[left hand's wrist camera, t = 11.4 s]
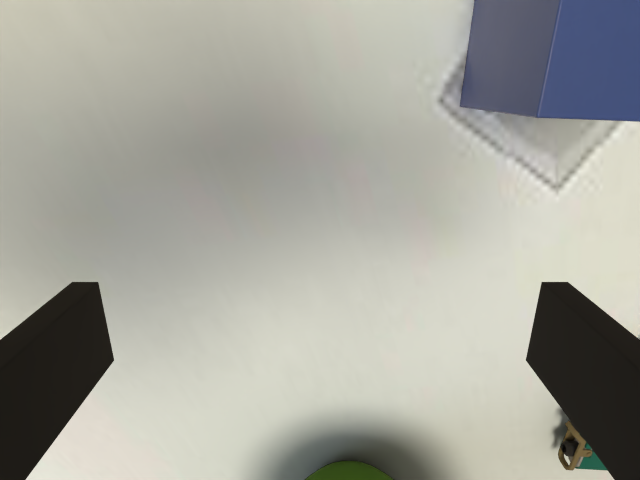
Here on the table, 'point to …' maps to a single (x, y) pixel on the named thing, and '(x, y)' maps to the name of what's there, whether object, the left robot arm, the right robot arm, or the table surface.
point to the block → (555, 59)
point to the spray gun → (578, 451)
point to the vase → (348, 472)
